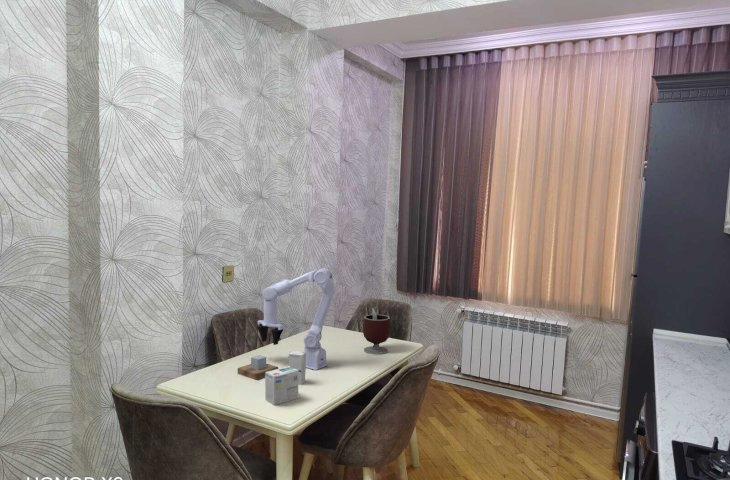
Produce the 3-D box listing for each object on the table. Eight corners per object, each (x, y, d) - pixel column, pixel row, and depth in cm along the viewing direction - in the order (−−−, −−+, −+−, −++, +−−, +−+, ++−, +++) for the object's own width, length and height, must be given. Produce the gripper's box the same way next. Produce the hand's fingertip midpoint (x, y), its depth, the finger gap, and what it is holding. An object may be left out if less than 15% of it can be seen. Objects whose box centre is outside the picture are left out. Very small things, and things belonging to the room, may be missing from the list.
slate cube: (266, 367, 203) (266, 357, 202) (257, 370, 199) (257, 359, 199) (259, 365, 205) (259, 354, 205) (250, 367, 202) (251, 357, 202)
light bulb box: (288, 392, 182) (289, 365, 181) (299, 398, 177) (299, 369, 176) (264, 400, 174) (264, 371, 174) (274, 405, 169) (274, 376, 169)
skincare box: (287, 383, 192) (287, 353, 191) (292, 379, 196) (292, 350, 195) (301, 385, 190) (301, 355, 189) (306, 381, 194) (306, 352, 193)
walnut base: (278, 373, 204) (278, 367, 204) (256, 381, 194) (256, 374, 194) (259, 367, 211) (259, 361, 211) (237, 375, 201) (237, 368, 201)
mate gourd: (393, 354, 234) (394, 314, 232) (366, 355, 230) (367, 314, 229) (384, 345, 249) (385, 307, 247) (358, 346, 245) (359, 308, 244)
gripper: (252, 312, 215) (252, 341, 216) (274, 317, 207) (274, 347, 208) (264, 309, 221) (264, 338, 222) (286, 314, 212) (286, 344, 213)
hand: (269, 342), depth 215 cm, fingers open, 7 cm apart
